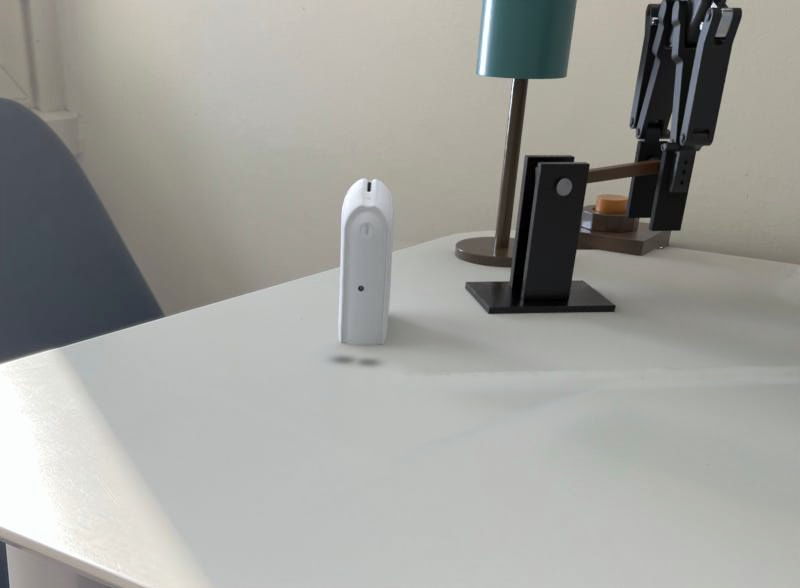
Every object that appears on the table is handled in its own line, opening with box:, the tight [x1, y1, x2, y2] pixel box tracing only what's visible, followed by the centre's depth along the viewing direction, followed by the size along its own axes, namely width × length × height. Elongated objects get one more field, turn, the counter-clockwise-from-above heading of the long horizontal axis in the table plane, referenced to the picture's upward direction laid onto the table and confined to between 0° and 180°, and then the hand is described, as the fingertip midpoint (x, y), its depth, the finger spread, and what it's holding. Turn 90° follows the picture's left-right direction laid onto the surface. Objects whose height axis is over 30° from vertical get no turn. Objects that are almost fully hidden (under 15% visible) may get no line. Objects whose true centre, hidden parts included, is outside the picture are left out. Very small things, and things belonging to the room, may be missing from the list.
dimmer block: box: [577, 204, 672, 257], centre depth 116 cm, size 12×10×4 cm
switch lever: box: [535, 154, 662, 185], centre depth 89 cm, size 12×5×2 cm, turn 97°
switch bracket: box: [464, 154, 616, 315], centre depth 92 cm, size 12×9×13 cm
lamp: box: [454, 0, 578, 268], centre depth 103 cm, size 10×10×25 cm
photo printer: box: [337, 177, 395, 347], centre depth 83 cm, size 10×4×12 cm, turn 177°
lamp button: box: [595, 193, 628, 214], centre depth 114 cm, size 4×4×2 cm
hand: (652, 222), depth 92 cm, fingers closed on switch lever, 5 cm apart
